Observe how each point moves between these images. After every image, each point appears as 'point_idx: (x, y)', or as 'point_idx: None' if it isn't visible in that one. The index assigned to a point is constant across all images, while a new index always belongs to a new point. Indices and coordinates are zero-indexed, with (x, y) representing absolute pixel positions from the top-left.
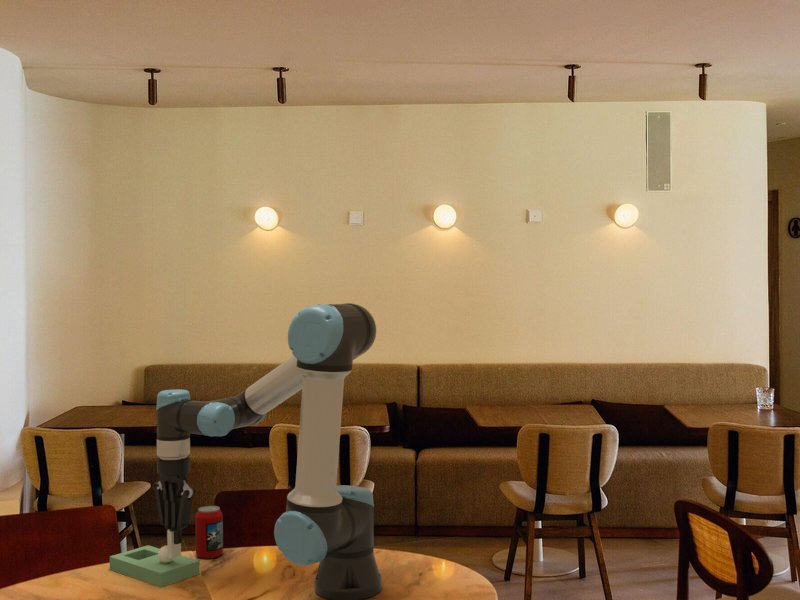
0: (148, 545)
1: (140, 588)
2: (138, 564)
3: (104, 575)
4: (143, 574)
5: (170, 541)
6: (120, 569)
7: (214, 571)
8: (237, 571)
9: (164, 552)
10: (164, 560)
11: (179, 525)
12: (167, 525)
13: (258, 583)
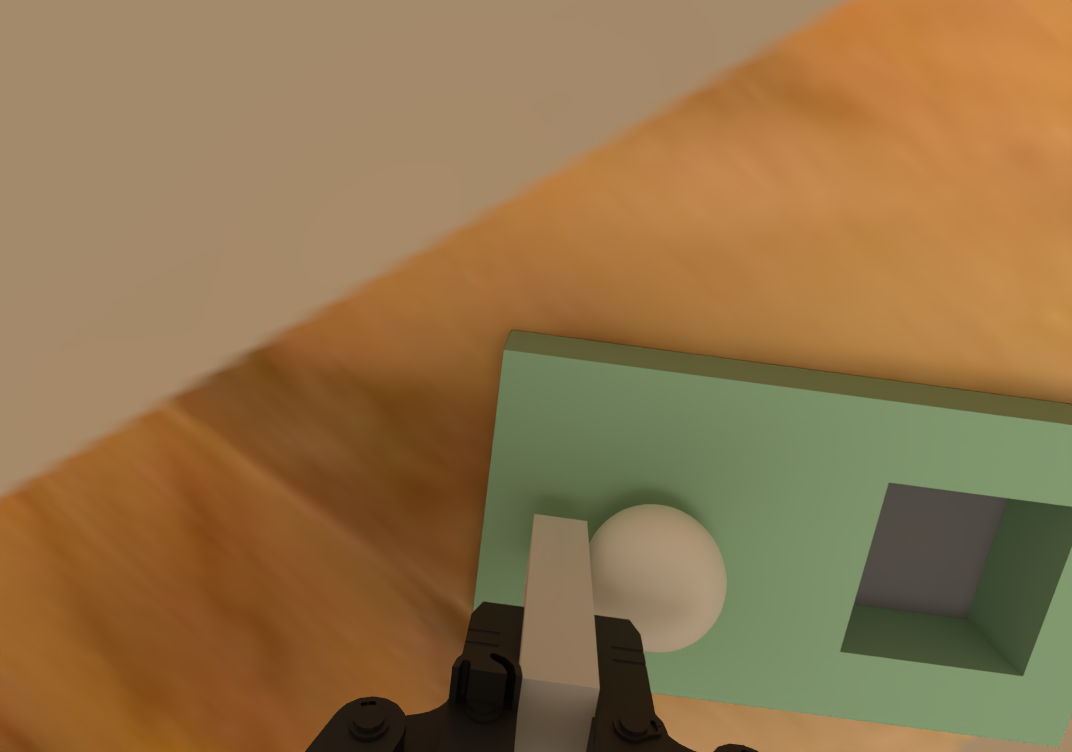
0: (1050, 745)
1: (621, 246)
2: (815, 412)
3: (1050, 308)
4: (713, 365)
5: (544, 600)
6: (983, 397)
7: (434, 678)
8: (319, 732)
9: (628, 542)
10: (623, 510)
11: (335, 740)
12: (611, 739)
13: (71, 643)
